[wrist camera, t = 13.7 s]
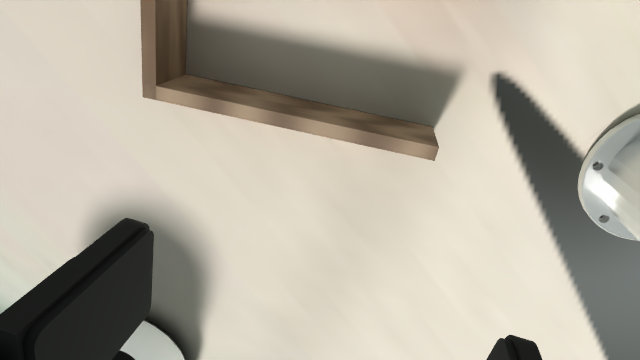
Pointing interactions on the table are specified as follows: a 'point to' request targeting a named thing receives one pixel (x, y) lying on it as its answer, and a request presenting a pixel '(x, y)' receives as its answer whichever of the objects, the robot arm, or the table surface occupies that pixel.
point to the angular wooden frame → (259, 93)
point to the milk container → (149, 345)
